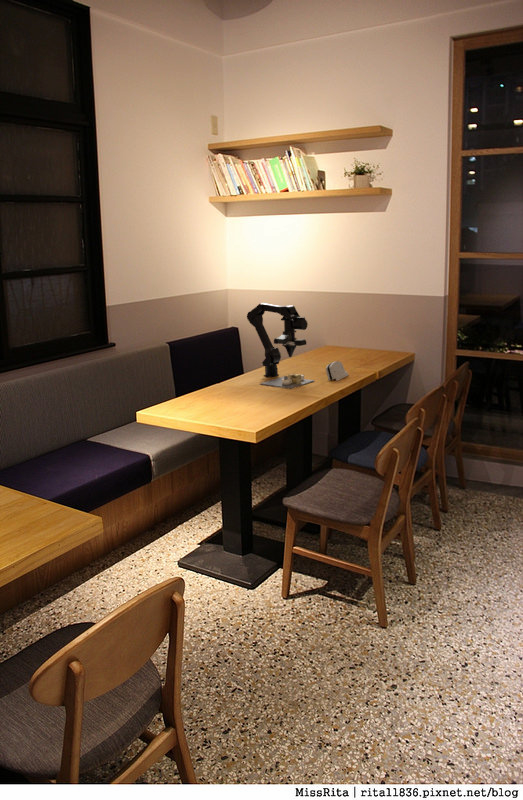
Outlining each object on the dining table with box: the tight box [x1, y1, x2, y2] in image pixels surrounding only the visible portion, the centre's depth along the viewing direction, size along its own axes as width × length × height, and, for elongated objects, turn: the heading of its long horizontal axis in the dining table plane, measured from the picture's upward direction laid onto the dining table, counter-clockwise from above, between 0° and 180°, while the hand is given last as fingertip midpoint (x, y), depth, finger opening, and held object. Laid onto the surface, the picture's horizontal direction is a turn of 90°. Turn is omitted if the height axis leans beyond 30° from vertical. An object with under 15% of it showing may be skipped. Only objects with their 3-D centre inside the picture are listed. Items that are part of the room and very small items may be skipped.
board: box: [259, 375, 315, 390], centre depth 371 cm, size 21×21×1 cm
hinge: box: [325, 360, 349, 382], centre depth 379 cm, size 17×5×10 cm, turn 151°
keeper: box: [287, 373, 302, 384], centre depth 366 cm, size 6×4×5 cm
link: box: [282, 374, 305, 385], centre depth 368 cm, size 16×4×4 cm, turn 140°
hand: (290, 357), depth 379 cm, fingers closed
